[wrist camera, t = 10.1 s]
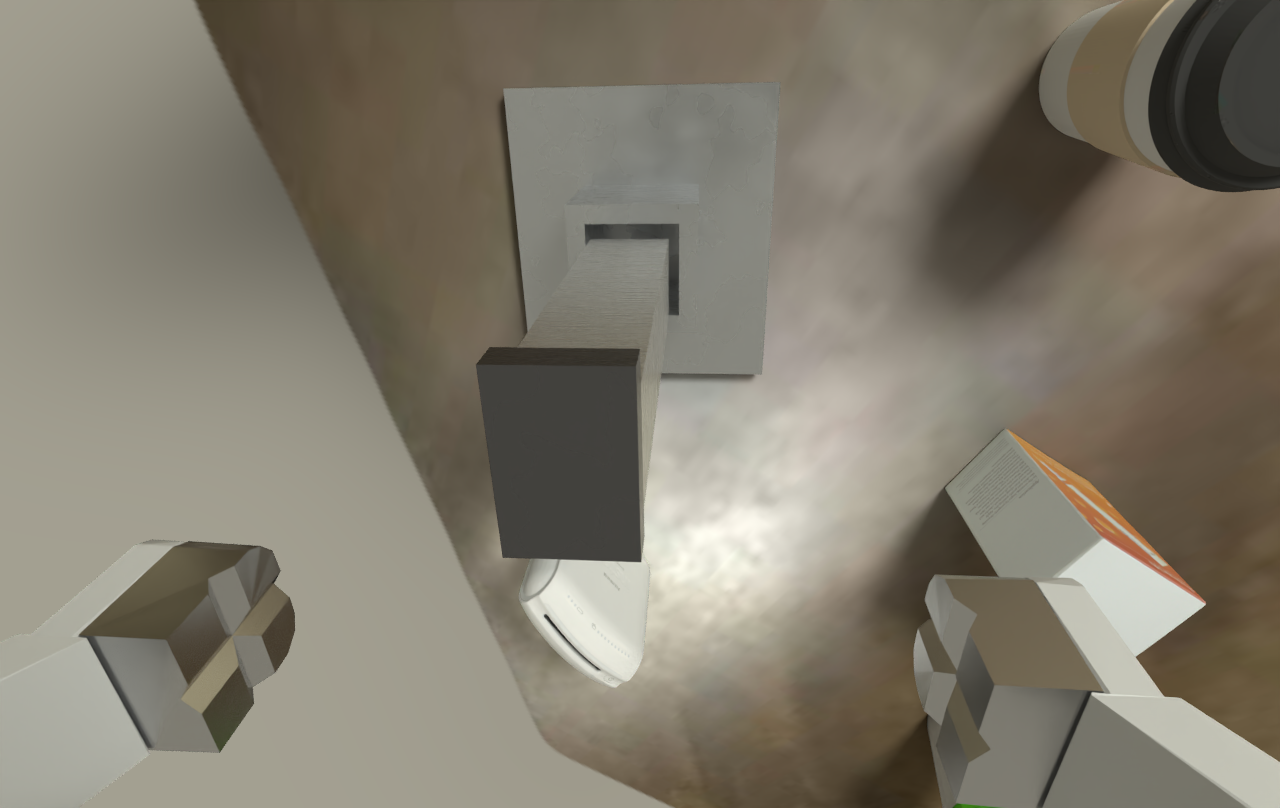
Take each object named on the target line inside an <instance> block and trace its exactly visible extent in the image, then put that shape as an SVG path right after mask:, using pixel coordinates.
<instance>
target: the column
mask: <svg viewBox="0 0 1280 808" xmlns="http://www.w3.org/2000/svg"><path fill="white" fill-rule="evenodd" d="M668 317H669V239H590V241H589V242H588V244H587V245H586V247H585V248H584V250H583V251H582V253H581V254H580V256H579V257H578V259H577V260H576V262H575V263H574V264H573V266H572V267H571V269H570V270H569V272H568V273H567V275H566V276H565V278H564V279H563V281H562V282H561V284H560V285H559V287H558V288H557V290H556V291H555V293H554V294H553V295H552V297H551V298H550V300H549V301H548V303H547V304H546V306H545V307H544V309H543V310H542V312H541V313H540V315H539V316H538V318H537V319H536V321H535V322H534V324H533V325H532V326H531V328H530V329H529V331H528V332H527V334H526V335H525V337H524V338H523V340H522V341H521V343H520V344H519V346H518V347H517V348H506V347H489V349H488V350H487V351H486V353H485V354H484V355H483V356H482V358H481V359H480V360H479V362H478V363H477V364H476V368H477V375H478V382H479V389H480V397H481V404H482V411H483V418H484V426H485V433H486V440H487V447H488V454H489V462H490V469H491V476H492V483H493V491H494V498H495V505H496V512H497V519H498V527H499V534H500V541H501V548H502V555H503V558H530V559H559V560H588V561H617V562H641V560H642V552H643V544H644V503H645V495H646V487H647V479H648V472H649V464H650V456H651V449H652V441H653V433H654V425H655V418H656V410H657V402H658V395H659V387H660V379H661V371H662V364H663V356H664V348H665V340H666V333H667V325H668Z"/></svg>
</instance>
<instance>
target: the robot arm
mask: <svg viewBox="0 0 1280 808" xmlns="http://www.w3.org/2000/svg"><path fill="white" fill-rule="evenodd" d="M279 573H280V568H279V566H278V563H277V561H276V558H275V556H274V553H273V551H272V550H269V549H267V548H264V547H261V546H251V545H237V544H221V543H207V542H192V541H188V542H180V541H165V540H149V541H146V542H143V543H139V544H136V545H135V546H134V547H133V548H131V549H130V550H129V551H128V552H127V553H125V554H124V555H123V556H122V557H121V558H120V559H118V560H117V561H116V562H115V563H114V564H113V565H111V566H110V567H109V568H108V569H107V570H106V571H104V572H103V573H102V574H101V575H100V576H99V577H97V579H95V580H94V581H93V582H91V583H90V584H89V585H88V586H87V587H86V588H84V589H83V590H82V591H81V592H80V593H79V594H77V595H76V596H75V597H74V598H73V599H72V600H70V601H69V602H68V603H67V604H66V605H65V606H64V607H62V608H61V609H60V610H59V611H58V612H57V613H55V614H54V615H53V616H52V617H51V618H49V619H48V620H47V621H46V622H45V623H44V624H42V625H41V626H40V627H39V628H38V629H37V630H36V631H34V632H33V633H32V634H31V635H27V634H17V635H15V636H13V637H10V638H8V639H6V640H4V641H2V642H0V808H79V807H81V806H82V805H83V804H84V803H86V802H87V801H89V800H90V799H91V798H93V797H94V796H95V795H97V794H98V793H99V792H100V791H102V790H103V789H104V788H106V787H107V786H108V785H110V784H111V783H112V782H114V781H115V780H116V779H118V778H119V777H120V776H122V775H123V774H124V773H126V772H127V771H128V770H130V769H131V768H132V767H134V766H135V765H136V764H138V763H139V762H140V761H141V760H143V759H144V758H145V757H147V756H148V755H149V754H150V752H149V750H162V751H189V752H217V753H218V752H219V753H220V752H221V750H222V749H223V747H224V746H225V744H226V742H227V741H228V740H229V739H230V737H231V735H232V734H233V733H234V731H235V730H236V728H237V727H238V726H239V724H240V723H241V721H242V720H243V718H244V717H245V716H246V714H247V713H248V711H249V710H250V708H251V707H252V706H253V704H254V698H253V687H254V686H255V685H257V684H259V683H260V682H261V681H263V680H265V679H266V678H268V677H269V676H271V675H272V674H274V673H275V672H276V670H277V669H278V668H279V666H280V665H281V663H282V662H283V660H284V659H285V657H286V656H287V654H288V651H289V648H290V645H291V641H292V638H293V635H294V631H295V615H294V614H295V613H294V609H293V606H292V603H291V600H290V598H289V597H288V596H287V595H286V594H285V593H284V592H283V591H282V590H280V589H279V588H278V587H277V586H276V585H275V584H274V582H275V580H276V579H277V577H278V575H279ZM925 602H926V605H927V607H928V610H929V612H930V615H931V618H930V619H929V620H928V621H926V622H925V623H924V624H923V625H921V626H920V627H919V628H918V630H917V635H916V641H915V646H914V674H915V679H916V685H917V690H918V693H919V697H920V700H921V703H922V706H923V709H924V711H925V712H926V713H927V714H928V715H930V716H931V717H932V718H933V719H934V720H935V721H936V722H937V723H938V724H939V725H940V726H941V729H940V733H939V736H938V740H937V744H936V747H937V750H938V753H939V756H940V759H941V762H942V765H943V768H944V770H945V773H946V776H947V779H948V782H949V785H950V788H951V791H952V793H953V796H954V799H955V802H956V803H959V804H969V805H979V806H990V807H1000V808H1280V762H1278V761H1277V760H1275V759H1274V758H1272V757H1271V756H1269V755H1268V754H1266V753H1265V752H1263V751H1261V750H1260V749H1258V748H1257V747H1255V746H1254V745H1252V744H1251V743H1249V742H1248V741H1246V740H1244V739H1243V738H1241V737H1240V736H1238V735H1237V734H1235V733H1234V732H1232V731H1230V730H1229V729H1227V728H1226V727H1224V726H1223V725H1221V724H1220V723H1218V722H1217V721H1215V720H1213V719H1212V718H1210V717H1209V716H1207V715H1206V714H1204V713H1203V712H1201V711H1200V710H1198V709H1196V708H1195V707H1193V706H1192V705H1190V704H1189V703H1187V702H1186V701H1184V700H1183V699H1181V698H1173V697H1164V696H1163V694H1162V693H1161V692H1160V690H1159V689H1158V688H1157V686H1156V685H1155V684H1154V682H1153V681H1152V679H1151V678H1150V677H1149V675H1148V674H1147V673H1146V671H1145V670H1144V668H1143V667H1142V666H1141V664H1140V663H1139V662H1138V660H1137V659H1136V657H1135V656H1134V655H1133V653H1132V652H1131V651H1130V649H1129V648H1128V646H1127V645H1126V644H1125V642H1124V641H1123V640H1122V638H1121V637H1120V636H1119V634H1118V633H1117V631H1116V630H1115V629H1114V627H1113V626H1112V625H1111V623H1110V622H1109V620H1108V619H1107V618H1106V616H1105V615H1104V614H1103V612H1102V611H1101V609H1100V608H1099V607H1098V605H1097V604H1096V603H1095V601H1094V600H1093V598H1092V597H1091V596H1090V594H1089V593H1088V592H1087V590H1086V589H1085V587H1084V586H1083V585H1082V584H1080V583H1079V582H1077V581H1076V580H1074V579H1073V578H1047V577H1025V578H1016V577H988V576H960V575H934V577H933V578H932V580H931V581H930V583H929V585H928V589H927V593H926V597H925Z"/></svg>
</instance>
